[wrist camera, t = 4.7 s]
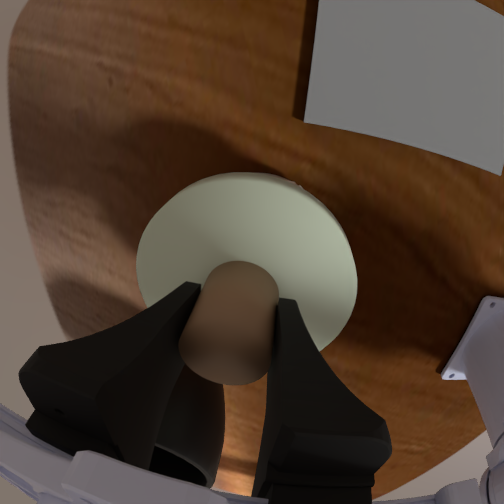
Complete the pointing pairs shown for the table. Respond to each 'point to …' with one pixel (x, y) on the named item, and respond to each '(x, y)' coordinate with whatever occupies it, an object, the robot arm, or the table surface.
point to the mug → (191, 431)
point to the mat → (412, 75)
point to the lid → (247, 269)
